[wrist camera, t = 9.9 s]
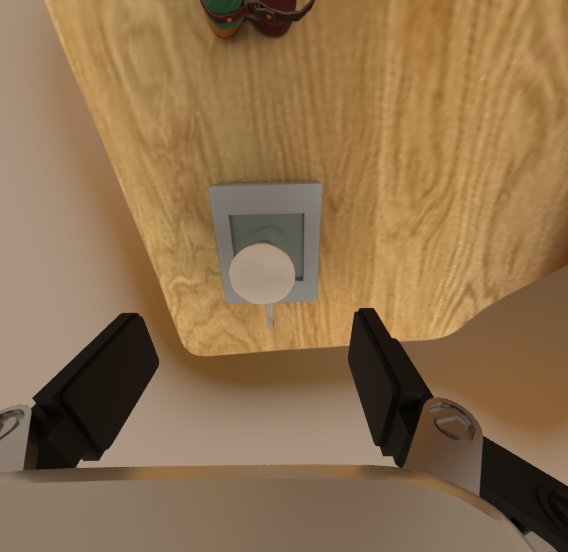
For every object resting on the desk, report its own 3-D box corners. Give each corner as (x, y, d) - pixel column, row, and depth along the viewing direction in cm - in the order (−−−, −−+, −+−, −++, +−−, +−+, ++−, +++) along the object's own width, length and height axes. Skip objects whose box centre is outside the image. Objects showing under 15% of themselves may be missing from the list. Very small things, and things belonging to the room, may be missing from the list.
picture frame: (219, 183, 24) (207, 186, 20) (315, 180, 24) (322, 183, 20) (233, 285, 29) (225, 303, 25) (312, 283, 29) (316, 301, 25)
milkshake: (254, 272, 25) (237, 334, 16) (241, 223, 22) (212, 262, 13) (296, 265, 24) (303, 323, 15) (287, 215, 22) (289, 248, 13)
